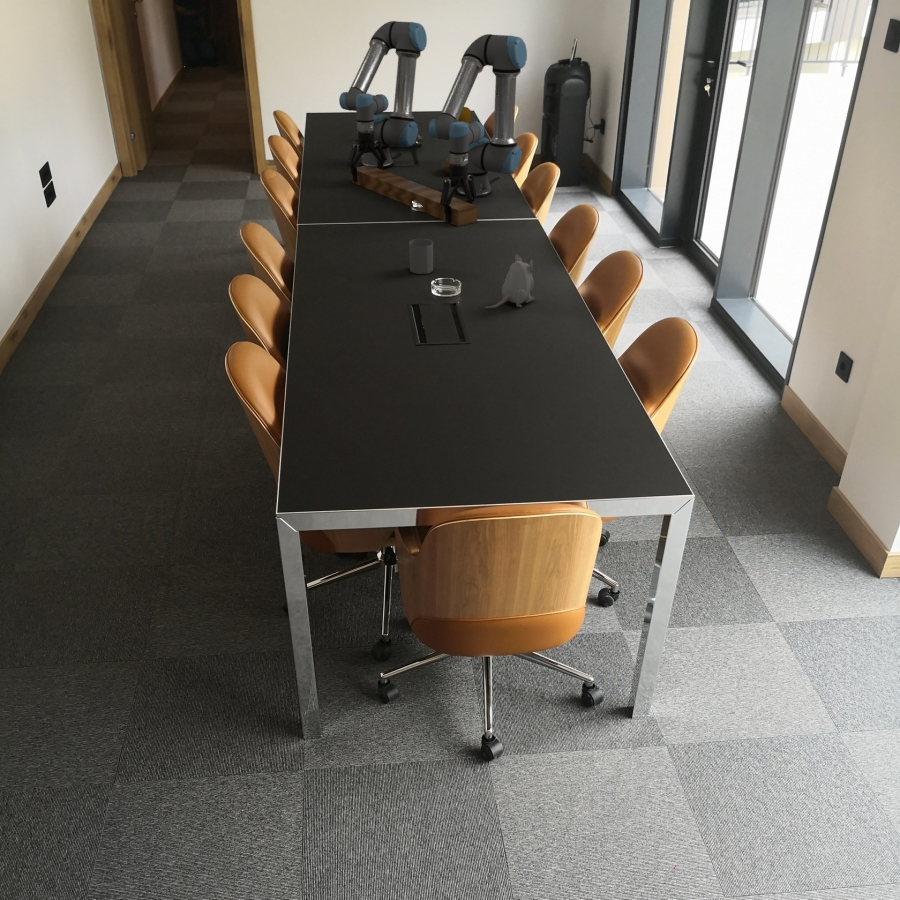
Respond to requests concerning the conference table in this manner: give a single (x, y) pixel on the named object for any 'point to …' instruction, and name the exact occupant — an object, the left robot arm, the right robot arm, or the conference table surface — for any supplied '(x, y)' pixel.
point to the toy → (517, 283)
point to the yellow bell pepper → (465, 115)
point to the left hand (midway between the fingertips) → (367, 179)
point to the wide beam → (414, 195)
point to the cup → (421, 256)
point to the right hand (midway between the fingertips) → (458, 219)
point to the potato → (447, 164)
